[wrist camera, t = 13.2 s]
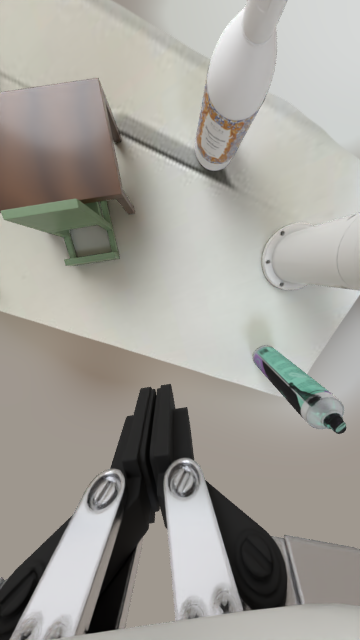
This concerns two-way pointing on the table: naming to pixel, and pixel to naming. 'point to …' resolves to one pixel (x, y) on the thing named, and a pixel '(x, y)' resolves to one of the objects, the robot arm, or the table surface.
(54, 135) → the side table
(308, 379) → the spray can
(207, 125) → the bath foam
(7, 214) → the chair
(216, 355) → the table surface
